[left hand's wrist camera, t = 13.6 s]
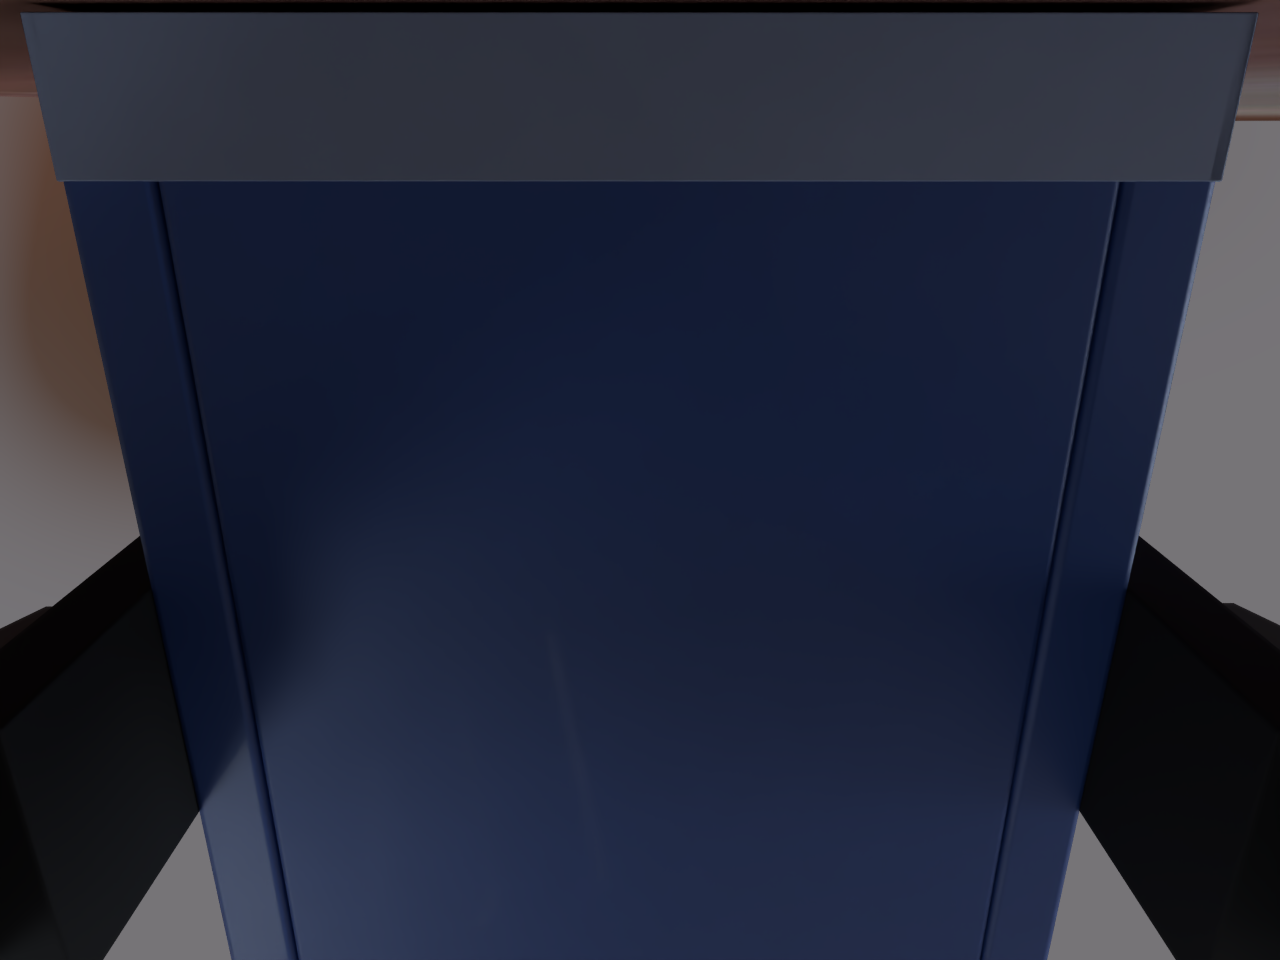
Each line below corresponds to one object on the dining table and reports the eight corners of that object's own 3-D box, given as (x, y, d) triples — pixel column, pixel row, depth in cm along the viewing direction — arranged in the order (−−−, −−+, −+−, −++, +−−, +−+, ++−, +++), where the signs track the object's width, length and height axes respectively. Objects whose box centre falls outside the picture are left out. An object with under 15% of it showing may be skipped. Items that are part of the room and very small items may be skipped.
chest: (846, 91, 21) (815, 493, 25) (433, 91, 21) (463, 493, 25) (1260, 11, 7) (1048, 974, 11) (19, 11, 7) (229, 975, 11)
